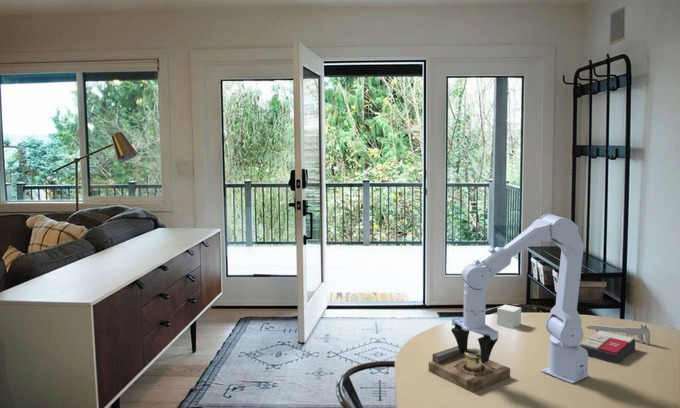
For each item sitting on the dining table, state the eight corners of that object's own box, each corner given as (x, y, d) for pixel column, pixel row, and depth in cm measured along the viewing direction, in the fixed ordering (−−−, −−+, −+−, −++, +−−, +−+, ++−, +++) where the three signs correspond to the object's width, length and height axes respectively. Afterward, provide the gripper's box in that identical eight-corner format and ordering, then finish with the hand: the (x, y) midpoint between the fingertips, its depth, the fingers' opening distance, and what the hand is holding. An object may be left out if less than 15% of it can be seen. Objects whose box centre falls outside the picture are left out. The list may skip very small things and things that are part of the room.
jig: (510, 377, 145) (510, 361, 144) (472, 392, 136) (472, 375, 136) (465, 358, 158) (465, 343, 157) (428, 370, 149) (428, 355, 149)
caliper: (649, 345, 167) (651, 326, 166) (648, 346, 166) (649, 326, 165) (587, 327, 183) (588, 309, 182) (585, 328, 182) (586, 310, 182)
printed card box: (578, 343, 160) (598, 328, 170) (578, 356, 161) (598, 340, 171) (617, 353, 152) (635, 336, 162) (617, 367, 153) (635, 350, 163)
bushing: (486, 377, 145) (487, 352, 144) (474, 382, 142) (474, 356, 141) (472, 371, 149) (472, 346, 148) (460, 375, 146) (460, 351, 145)
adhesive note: (513, 328, 182) (513, 311, 182) (497, 325, 186) (497, 308, 186) (520, 324, 187) (521, 307, 186) (504, 320, 191) (505, 304, 190)
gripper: (444, 305, 147) (443, 352, 148) (486, 318, 135) (485, 370, 137) (461, 300, 151) (461, 346, 152) (504, 313, 139) (503, 363, 141)
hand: (473, 357), depth 145 cm, fingers open, 7 cm apart
